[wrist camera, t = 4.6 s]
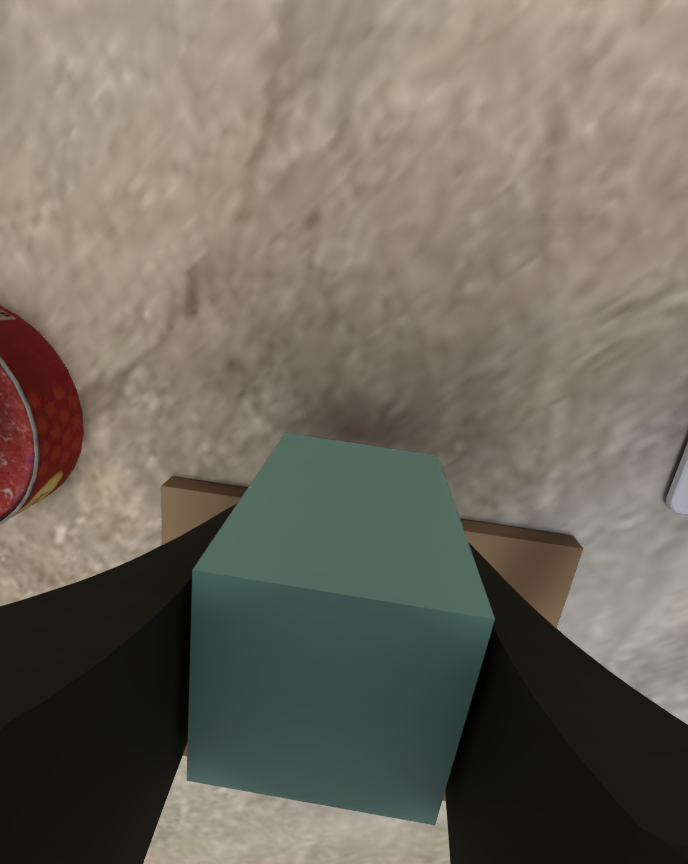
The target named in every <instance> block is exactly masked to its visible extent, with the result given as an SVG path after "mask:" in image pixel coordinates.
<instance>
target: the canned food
mask: <svg viewBox="0 0 688 864" xmlns="http://www.w3.org/2000/svg"><path fill="white" fill-rule="evenodd" d="M83 434H84V430H83V412H82V408H81V404H80V400H79V396H78V392H77V390H76V387H75V385H74V383H73V381H72V378H71V376H70V374H69V372H68V369H67V368H66V366H65V365H64V363H63V362H62V360H61V359H60V357H59V356H58V354H57V353H56V351H55V350H54V348H53V347H52V346H51V345H50V344H49V343H48V342H47V341H46V340H45V339H44V337H43V336H42V335H41V334H40V333H39V332H38V331H37V330H36V329H35V328H33V327H32V326H31V325H30V324H28V323H27V322H26V321H25V320H23V319H22V318H21V317H20V316H18V315H17V314H15V313H13V312H11V311H10V310H8V309H6V308H4V307H3V306H1V305H0V525H1V524H3V523H5V522H6V521H7V520H8V519H10V518H11V517H13V516H15V515H16V514H18V513H20V512H21V511H23V510H25V509H26V508H28V507H29V506H31V505H33V504H34V503H36V502H38V501H39V500H41V499H43V498H44V497H46V496H47V495H49V494H51V493H52V492H53V491H55V490H56V489H57V488H58V487H59V486H61V485H62V484H63V483H64V482H65V481H66V479H67V478H68V476H69V475H70V474H71V472H72V471H73V470H74V468H75V465H76V463H77V460H78V458H79V455H80V453H81V447H82V441H83Z"/></svg>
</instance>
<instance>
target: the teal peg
mask: <svg viewBox="0 0 688 864" xmlns="http://www.w3.org/2000/svg"><path fill="white" fill-rule="evenodd" d="M494 621H495V618H494V615H493V612H492V609H491V606H490V603H489V601H488V598H487V595H486V592H485V589H484V586H483V583H482V581H481V578H480V575H479V572H478V569H477V566H476V563H475V561H474V558H473V555H472V552H471V549H470V546H469V544H468V541H467V538H466V535H465V532H464V529H463V526H462V524H461V521H460V518H459V515H458V512H457V509H456V506H455V504H454V501H453V498H452V495H451V492H450V489H449V486H448V484H447V481H446V478H445V475H444V472H443V469H442V466H441V464H440V461H439V458H438V455H431V454H425V453H418V452H411V451H405V450H398V449H391V448H385V447H378V446H371V445H365V444H358V443H351V442H345V441H338V440H331V439H325V438H318V437H311V436H305V435H298V434H291V433H285V434H284V436H283V437H282V439H281V440H280V442H279V443H278V445H277V446H276V447H275V449H274V450H273V452H272V453H271V455H270V456H269V458H268V459H267V461H266V462H265V464H264V465H263V467H262V468H261V470H260V471H259V473H258V474H257V475H256V477H255V478H254V480H253V481H252V483H251V484H250V486H249V487H248V489H247V490H246V492H245V493H244V495H243V496H242V498H241V499H240V501H239V502H238V503H237V505H236V506H235V508H234V509H233V511H232V512H231V514H230V515H229V517H228V518H227V520H226V521H225V523H224V524H223V526H222V527H221V529H220V530H219V531H218V533H217V534H216V536H215V537H214V539H213V540H212V542H211V543H210V545H209V546H208V548H207V549H206V551H205V552H204V554H203V555H202V557H201V558H200V560H199V561H198V562H197V564H196V565H195V567H194V568H193V570H192V605H191V642H190V679H189V716H188V754H187V781H192V782H198V783H203V784H209V785H214V786H220V787H226V788H231V789H237V790H242V791H248V792H253V793H259V794H264V795H270V796H276V797H281V798H287V799H292V800H298V801H303V802H309V803H314V804H320V805H326V806H331V807H337V808H342V809H348V810H353V811H359V812H364V813H370V814H376V815H381V816H387V817H392V818H398V819H403V820H409V821H414V822H420V823H426V824H431V825H435V823H436V820H437V817H438V813H439V810H440V806H441V803H442V799H443V796H444V793H445V789H446V786H447V782H448V779H449V775H450V772H451V768H452V765H453V762H454V758H455V755H456V751H457V748H458V744H459V741H460V738H461V734H462V731H463V727H464V724H465V720H466V717H467V713H468V710H469V707H470V703H471V700H472V696H473V693H474V689H475V686H476V683H477V679H478V676H479V672H480V669H481V665H482V662H483V659H484V655H485V652H486V648H487V645H488V641H489V638H490V634H491V631H492V628H493V624H494Z"/></svg>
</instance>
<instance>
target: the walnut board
mask: <svg viewBox="0 0 688 864" xmlns="http://www.w3.org/2000/svg"><path fill="white" fill-rule="evenodd" d="M247 489H248V488H245V487H238V486H232V485H225V484H218V483H211V482H204V481H198V480H191V479H184V478H177V477H171V478H170V479H169V480H168V481H166V482H165V483H164V484H163V485H162V486H161V491H162V545H164V544H166V543H168V542H169V541H171V540H173V539H175V538H177V537H179V536H181V535H183V534H185V533H186V532H188V531H190V530H192V529H193V528H195V527H197V526H199V525H200V524H202V523H204V522H206V521H207V520H209V519H211V518H213V517H214V516H216V515H218V514H219V513H221V512H223V511H224V510H226V509H228V508H230V507H231V506H233V505H235V504H237V503H238V502H239V501H240V499H241V498H242V496H243V495H244V493H245V492H246V490H247ZM460 521H461V524H462V526H463V529H464V532H465V535H466V538H467V541H468V542H469V543H470V544H471V545H472V546H473V547H474V548H475V549H476V550H477V551H478V552H479V553H480V554H481V555H482V556H483V557H484V558H485V559H486V560H487V561H488V562H489V564H490V565H491V566H492V567H493V568H494V569H495V570H496V571H497V572H498V573H499V574H500V575H501V576H502V577H503V578H504V579H505V580H506V581H507V582H508V583H509V584H510V585H511V586H512V587H513V588H514V589H515V590H516V591H517V592H518V593H519V594H520V595H521V596H522V597H523V598H524V599H525V600H526V601H527V602H528V603H529V604H530V605H531V606H532V607H533V608H534V609H535V610H536V611H538V612H539V613H540V614H541V615H542V616H543V617H544V618H545V619H546V620H548V621H549V622H550V623H551V624H552V625H553V626H554V627H555V628H557V625H558V622H559V619H560V616H561V613H562V610H563V607H564V604H565V601H566V598H567V595H568V592H569V589H570V587H571V584H572V581H573V578H574V575H575V572H576V569H577V566H578V563H579V560H580V557H581V554H582V551H583V548H582V547H581V545H580V544H579V543H578V541H577V540H576V539H575V538H574V536H570V535H563V534H556V533H549V532H543V531H536V530H529V529H522V528H516V527H509V526H502V525H495V524H488V523H482V522H475V521H468V520H461V519H460ZM187 754H188V742H187V745H186V748H185V750H184V753H183V756H187ZM442 800H443V801H446V796H445V793H444V796H443V799H442Z"/></svg>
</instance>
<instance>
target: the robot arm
mask: <svg viewBox="0 0 688 864" xmlns="http://www.w3.org/2000/svg"><path fill="white" fill-rule="evenodd" d="M666 503H667V506H668V507H669V508H671V509H672V510H673V511H675V512H677V513H681V514H688V443H687V446H686V449H685V451H684V454H683V456H682V459H681V461H680V464H679V467H678V469H677V472H676V474H675V477H674V479H673V482H672V485H671V487H670V490H669V492H668V495H667V498H666ZM236 505H237V504H235V505H233V506H231V507H230V508H228V509H226V510H224V511H223V512H221V513H219V514H218V515H216V516H214V517H213V518H211V519H209V520H207V521H206V522H204V523H202V524H200V525H199V526H197V527H195V528H193V529H192V530H190V531H188V532H186V533H185V534H183V535H181V536H179V537H177V538H175V539H173V540H171V541H169V542H168V543H166V544H164V545H162V546H160V547H158V548H156V549H154V550H152V551H150V552H148V553H146V554H144V555H142V556H140V557H138V558H135V559H133V560H131V561H129V562H127V563H124V564H122V565H120V566H117V567H115V568H113V569H110V570H108V571H105V572H102V573H100V574H97V575H95V576H92V577H90V578H87V579H85V580H82V581H79V582H76V583H73V584H70V585H67V586H64V587H61V588H58V589H55V590H52V591H49V592H46V593H43V594H40V595H36V596H33V597H30V598H27V599H24V600H21V601H18V602H14V603H11V604H7V605H3V606H0V864H143V862H144V859H145V857H146V854H147V851H148V848H149V845H150V843H151V840H152V837H153V834H154V832H155V829H156V826H157V823H158V821H159V818H160V815H161V812H162V810H163V807H164V804H165V801H166V799H167V796H168V793H169V790H170V788H171V785H172V782H173V780H174V777H175V774H176V772H177V769H178V766H179V764H180V761H181V758H182V756H183V753H184V750H185V748H186V745H187V742H188V716H189V679H190V642H191V605H192V570H193V568H194V567H195V565H196V564H197V562H198V561H199V560H200V558H201V557H202V555H203V554H204V552H205V551H206V549H207V548H208V546H209V545H210V543H211V542H212V540H213V539H214V537H215V536H216V534H217V533H218V531H219V530H220V529H221V527H222V526H223V524H224V523H225V521H226V520H227V518H228V517H229V515H230V514H231V512H232V511H233V509H234V508H235V506H236ZM468 544H469V546H470V549H471V552H472V555H473V558H474V561H475V563H476V566H477V569H478V572H479V575H480V578H481V581H482V583H483V586H484V589H485V592H486V595H487V598H488V601H489V603H490V606H491V609H492V612H493V615H494V618H495V621H494V624H493V628H492V631H491V634H490V638H489V641H488V645H487V648H486V652H485V655H484V659H483V662H482V665H481V669H480V672H479V676H478V679H477V683H476V686H475V689H474V693H473V696H472V700H471V703H470V707H469V710H468V713H467V717H466V720H465V724H464V727H463V731H462V734H461V738H460V741H459V744H458V748H457V751H456V755H455V758H454V762H453V765H452V768H451V772H450V775H449V779H448V782H447V786H446V789H445V796H446V808H447V821H448V834H449V847H450V863H451V864H688V725H687V724H686V723H684V722H683V721H681V720H679V719H678V718H676V717H675V716H673V715H672V714H670V713H669V712H667V711H666V710H664V709H663V708H661V707H660V706H658V705H657V704H655V703H654V702H653V701H651V700H650V699H648V698H647V697H645V696H644V695H642V694H641V693H639V692H638V691H636V690H635V689H633V688H632V687H631V686H629V685H628V684H626V683H625V682H624V681H622V680H621V679H619V678H618V677H617V676H615V675H614V674H613V673H611V672H610V671H609V670H607V669H606V668H605V667H603V666H602V665H601V664H600V663H598V662H597V661H596V660H594V659H593V658H592V657H591V656H589V655H588V654H587V653H585V652H584V651H583V650H582V649H580V648H579V647H578V646H577V645H575V644H574V643H573V642H572V641H570V640H569V639H568V638H567V637H566V636H565V635H563V634H562V633H561V632H560V631H559V630H558V629H556V628H555V627H554V626H553V625H552V624H551V623H550V622H549V621H548V620H546V619H545V618H544V617H543V616H542V615H541V614H540V613H539V612H538V611H536V610H535V609H534V608H533V607H532V606H531V605H530V604H529V603H528V602H527V601H526V600H525V599H524V598H523V597H522V596H521V595H520V594H519V593H518V592H517V591H516V590H515V589H514V588H513V587H512V586H511V585H510V584H509V583H508V582H507V581H506V580H505V579H504V578H503V577H502V576H501V575H500V574H499V573H498V572H497V571H496V570H495V569H494V568H493V567H492V566H491V565H490V564H489V562H488V561H487V560H486V559H485V558H484V557H483V556H482V555H481V554H480V553H479V552H478V551H477V550H476V549H475V548H474V547H473V546H472V545H471V544H470V543H469V542H468Z"/></svg>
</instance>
